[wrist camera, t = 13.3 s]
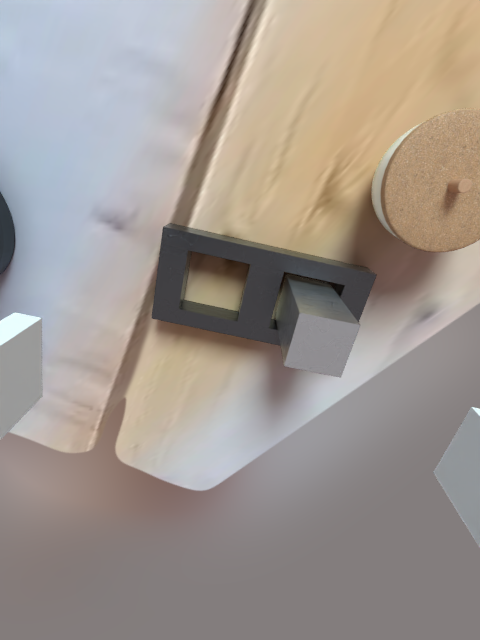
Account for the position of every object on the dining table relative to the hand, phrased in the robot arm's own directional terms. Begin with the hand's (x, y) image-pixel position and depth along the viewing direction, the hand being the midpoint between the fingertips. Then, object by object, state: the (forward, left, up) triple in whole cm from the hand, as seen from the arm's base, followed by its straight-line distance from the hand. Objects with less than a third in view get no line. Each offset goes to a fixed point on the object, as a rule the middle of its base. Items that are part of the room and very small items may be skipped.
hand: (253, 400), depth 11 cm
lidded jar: (+14, +9, -29) cm, 33 cm away
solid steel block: (+7, -5, -29) cm, 30 cm away
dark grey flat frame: (+2, -5, -29) cm, 29 cm away
